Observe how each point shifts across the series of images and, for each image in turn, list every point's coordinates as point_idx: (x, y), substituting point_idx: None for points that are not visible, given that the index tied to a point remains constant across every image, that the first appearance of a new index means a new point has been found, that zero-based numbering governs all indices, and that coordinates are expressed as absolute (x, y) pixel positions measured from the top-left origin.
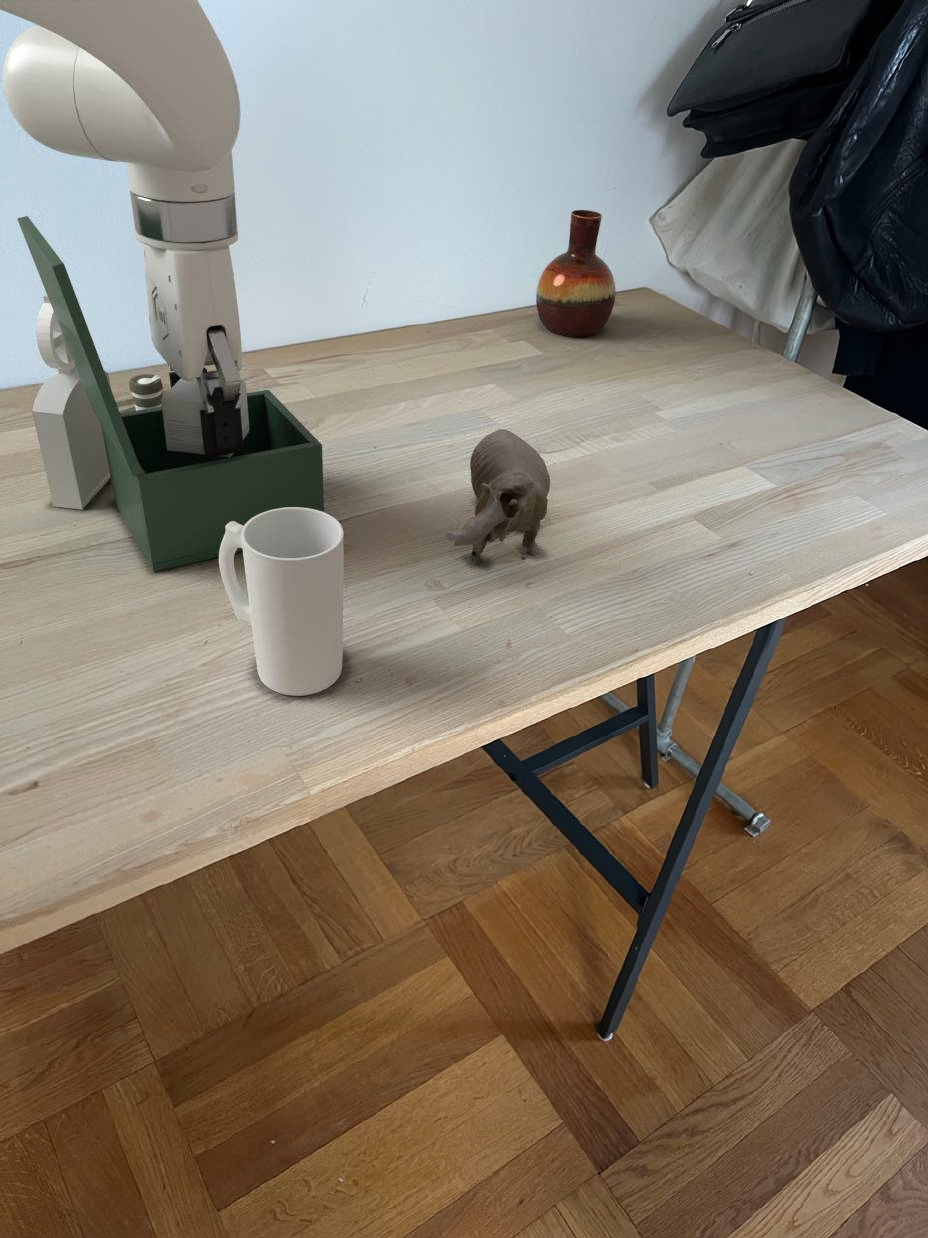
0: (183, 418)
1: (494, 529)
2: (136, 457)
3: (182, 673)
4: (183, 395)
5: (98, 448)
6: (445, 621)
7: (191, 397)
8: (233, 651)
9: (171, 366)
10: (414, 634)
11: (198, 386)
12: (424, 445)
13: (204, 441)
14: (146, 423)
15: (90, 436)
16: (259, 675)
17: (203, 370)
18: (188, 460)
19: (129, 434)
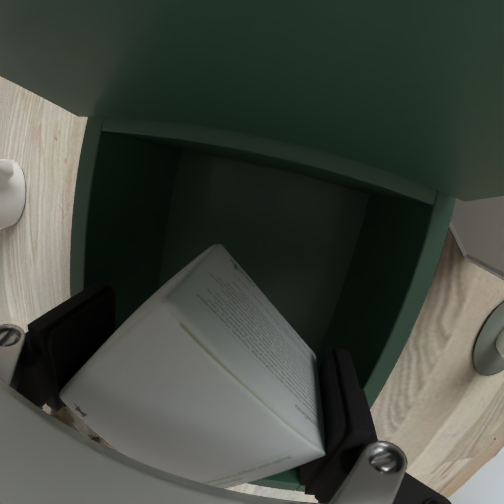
0: (137, 311)
1: (51, 413)
2: (54, 103)
3: (43, 107)
4: (138, 371)
5: (470, 215)
6: (16, 315)
7: (114, 376)
8: (38, 155)
9: (20, 412)
10: (11, 288)
11: (9, 382)
12: (249, 491)
13: (80, 292)
14: (396, 284)
15: (480, 201)
16: (9, 159)
17: (307, 488)
18: (346, 315)
19: (403, 236)
